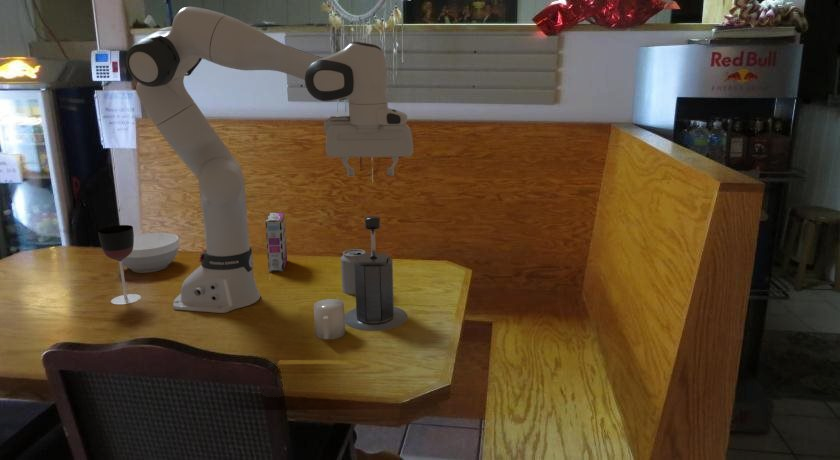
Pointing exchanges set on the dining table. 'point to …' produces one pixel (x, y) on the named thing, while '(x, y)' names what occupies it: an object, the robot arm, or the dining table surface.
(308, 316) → the dining table surface
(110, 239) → the wineglass
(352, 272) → the can
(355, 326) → the coaster
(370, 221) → the plunger
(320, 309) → the white rounded cylinder
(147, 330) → the dining table surface
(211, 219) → the robot arm
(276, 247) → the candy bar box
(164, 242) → the bowl
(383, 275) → the carafe
